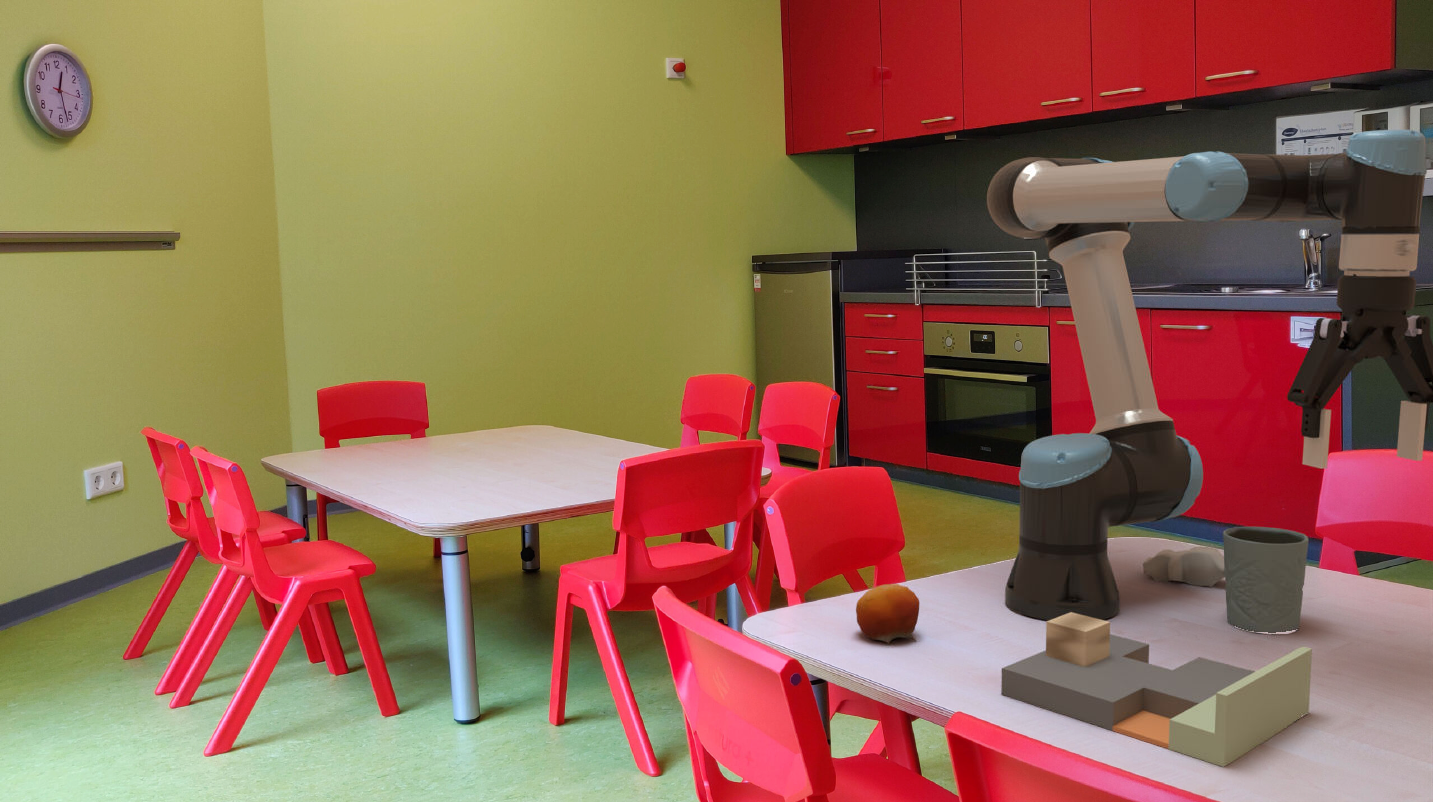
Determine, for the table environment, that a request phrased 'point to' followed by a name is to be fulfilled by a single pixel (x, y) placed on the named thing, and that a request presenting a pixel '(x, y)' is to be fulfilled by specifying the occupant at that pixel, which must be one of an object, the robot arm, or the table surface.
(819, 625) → the table surface
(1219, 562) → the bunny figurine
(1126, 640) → the box
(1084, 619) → the block
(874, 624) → the fruit
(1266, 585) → the embossed grey cup
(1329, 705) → the table surface
